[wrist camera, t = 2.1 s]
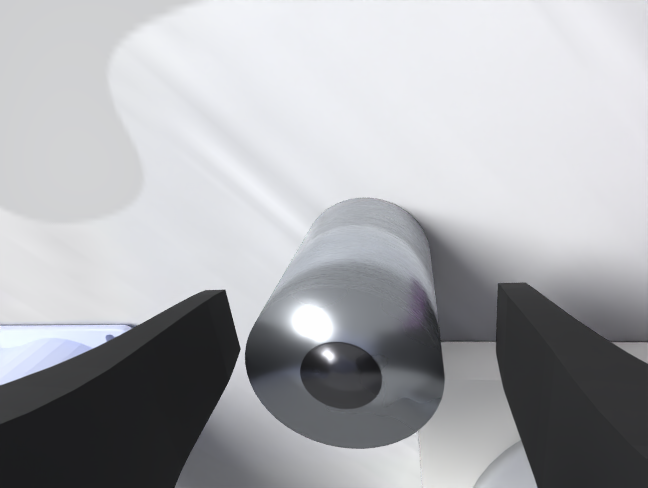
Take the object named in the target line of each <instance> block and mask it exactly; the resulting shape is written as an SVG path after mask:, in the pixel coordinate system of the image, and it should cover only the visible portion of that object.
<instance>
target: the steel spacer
mask: <svg viewBox="0 0 648 488" xmlns="http://www.w3.org/2000/svg"><path fill="white" fill-rule="evenodd" d="M245 364H246V370H247V375H248V378H249V381H250V383H251V386H252V388H253V390H254V392H255V394H256V395H257V397H258V398H259V400H260V401H261V403H262V404H263V405H264V406H265V407H266V409H267V410H268V411H269V412H270V413H271V414H272V415H273V416H274V417H275V418H276V419H278V420H279V421H280V422H282V423H283V424H284V425H285V426H287V427H289V428H290V429H292V430H293V431H295V432H297V433H299V434H301V435H303V436H305V437H307V438H309V439H312V440H314V441H317V442H320V443H324V444H327V445H331V446H336V447H343V448H356V449H364V448H375V447H381V446H386V445H389V444H392V443H396V442H398V441H400V440H403V439H405V438H407V437H409V436H410V435H412V434H414V433H415V432H417V431H418V430H419V429H421V428H422V427H423V426H424V425H425V424H426V423H427V422H428V421H429V420H430V419H431V418H432V416H433V415H434V413H435V412H436V410H437V409H438V406H439V404H440V402H441V399H442V396H443V392H444V384H445V374H444V365H443V357H442V348H441V340H440V331H439V323H438V314H437V306H436V297H435V289H434V280H433V272H432V263H431V255H430V247H429V243H428V240H427V237H426V235H425V233H424V231H423V229H422V228H421V226H420V225H419V224H418V222H417V221H416V220H415V219H414V218H413V217H412V216H411V215H410V214H409V213H408V212H406V211H405V210H403V209H402V208H400V207H398V206H397V205H395V204H392V203H390V202H387V201H384V200H380V199H374V198H355V199H350V200H346V201H342V202H340V203H338V204H335V205H334V206H332V207H330V208H328V209H327V210H326V211H325V212H323V213H322V214H321V215H320V216H319V217H318V218H317V219H316V221H315V222H314V223H313V225H312V226H311V228H310V230H309V232H308V233H307V235H306V237H305V238H304V240H303V242H302V244H301V245H300V247H299V249H298V250H297V252H296V254H295V256H294V257H293V259H292V261H291V262H290V264H289V266H288V268H287V269H286V271H285V273H284V274H283V276H282V278H281V280H280V281H279V283H278V285H277V286H276V288H275V290H274V292H273V293H272V295H271V297H270V298H269V300H268V302H267V304H266V305H265V307H264V309H263V310H262V312H261V314H260V316H259V317H258V319H257V321H256V322H255V324H254V326H253V328H252V330H251V332H250V334H249V337H248V340H247V344H246V351H245Z"/></svg>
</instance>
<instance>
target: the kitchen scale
mask: <svg viewBox="0 0 648 488" xmlns="http://www.w3.org/2000/svg"><path fill="white" fill-rule="evenodd" d="M611 343H613V344H615V345H616V346H618V347H620V348H621V349H623V350H624V351H626V352H628V353H630V354H631V355H633V356H635V357H637V358H638V359H640V360H642V361H644V362H645V363H647V364H648V342H611ZM441 348H442V357H443V365H444V374H445V384H444V392H443V396H442V399H441V402H440V404H439V406H438V409H437V410H436V412H435V413H434V415H433V416H432V418H431V419H430V420H429V421H428V422H427V423H426V424H425V425H424V426H423V427H422V428H421V429H419V430H418V431H419V448H420V465H421V481H422V488H537V485H536V482H535V478H534V475H533V473H532V470H531V467H530V464H529V461H528V458H527V455H526V453H525V450H524V447H523V444H522V441H521V438H520V436H519V433H518V430H517V427H516V424H515V421H514V419H513V416H512V413H511V410H510V407H509V404H508V401H507V398H506V395H505V392H504V389H503V385H502V380H501V376H500V371H499V366H498V361H497V356H496V342H441Z"/></svg>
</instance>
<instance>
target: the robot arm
mask: <svg viewBox="0 0 648 488" xmlns="http://www.w3.org/2000/svg"><path fill="white" fill-rule="evenodd" d="M113 336H114V337H113ZM240 350H241V349H240V345H239V341H238V338H237V334H236V330H235V326H234V322H233V318H232V314H231V310H230V306H229V302H228V298H227V295H226V291H225V290H205V291H203V292H200V293H198V294H196V295H193V296H191V297H189V298H187V299H186V300H184V301H182V302H180V303H178V304H176V305H174V306H173V307H171V308H169V309H167V310H165V311H163V312H162V313H160V314H158V315H156V316H154V317H153V318H151V319H149V320H147V321H145V322H144V323H142V324H140V325H138V326H136V327H134V328H131V327H129V326H126V325H40V326H0V488H174V487H175V485H176V482H177V480H178V478H179V475H180V473H181V470H182V468H183V466H184V464H185V462H186V460H187V458H188V456H189V454H190V452H191V450H192V448H193V447H194V445H195V443H196V441H197V439H198V437H199V436H200V434H201V432H202V430H203V428H204V427H205V425H206V423H207V421H208V419H209V417H210V416H211V414H212V412H213V410H214V408H215V406H216V405H217V403H218V401H219V399H220V397H221V395H222V393H223V392H224V390H225V388H226V386H227V384H228V382H229V380H230V377H231V375H232V372H233V369H234V367H235V364H236V361H237V358H238V355H239V352H240ZM496 356H497V361H498V366H499V371H500V376H501V380H502V385H503V389H504V392H505V395H506V398H507V401H508V404H509V407H510V410H511V413H512V416H513V419H514V421H515V424H516V427H517V430H518V433H519V436H520V438H521V441H522V444H523V447H524V450H525V453H526V455H527V458H528V461H529V464H530V467H531V470H532V473H533V475H534V478H535V482H536V485H537V488H648V364H647V363H645V362H644V361H642V360H640V359H638V358H637V357H635V356H633V355H631V354H630V353H628V352H626V351H624V350H623V349H621V348H620V347H618V346H616V345H615V344H613V343H611V342H610V341H608V340H607V339H605V338H603V337H602V336H600V335H599V334H597V333H596V332H594V331H593V330H591V329H590V328H588V327H587V326H585V325H584V324H582V323H581V322H579V321H578V320H576V319H575V318H573V317H572V316H571V315H569V314H568V313H566V312H565V311H564V310H562V309H561V308H560V307H558V306H557V305H555V304H554V303H553V302H551V301H550V300H549V299H547V298H546V297H545V296H543V295H542V294H541V293H539V292H538V291H537V290H535V289H534V288H532V287H531V286H530V285H528V284H527V283H498V299H497V329H496Z"/></svg>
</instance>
